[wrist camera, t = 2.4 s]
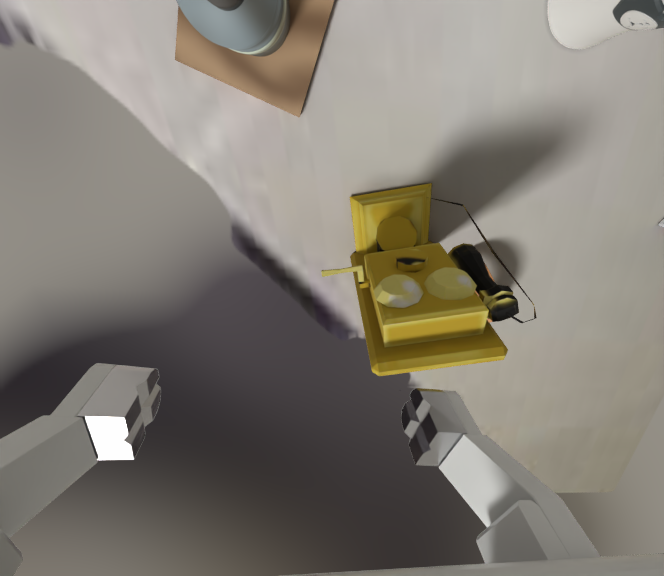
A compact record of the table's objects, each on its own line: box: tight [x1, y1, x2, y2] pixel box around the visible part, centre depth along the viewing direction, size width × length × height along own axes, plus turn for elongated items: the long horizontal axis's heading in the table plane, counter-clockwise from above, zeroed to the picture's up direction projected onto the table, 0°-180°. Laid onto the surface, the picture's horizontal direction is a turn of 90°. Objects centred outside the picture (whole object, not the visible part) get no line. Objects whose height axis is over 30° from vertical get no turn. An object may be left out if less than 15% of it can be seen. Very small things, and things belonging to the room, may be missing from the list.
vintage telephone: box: [321, 183, 536, 376], centre depth 45 cm, size 31×14×30 cm, turn 99°
